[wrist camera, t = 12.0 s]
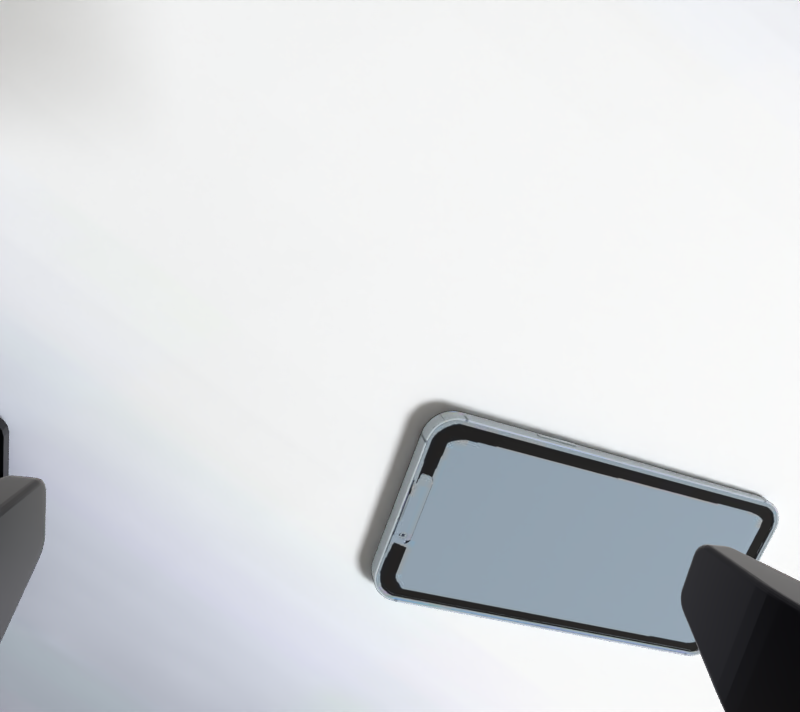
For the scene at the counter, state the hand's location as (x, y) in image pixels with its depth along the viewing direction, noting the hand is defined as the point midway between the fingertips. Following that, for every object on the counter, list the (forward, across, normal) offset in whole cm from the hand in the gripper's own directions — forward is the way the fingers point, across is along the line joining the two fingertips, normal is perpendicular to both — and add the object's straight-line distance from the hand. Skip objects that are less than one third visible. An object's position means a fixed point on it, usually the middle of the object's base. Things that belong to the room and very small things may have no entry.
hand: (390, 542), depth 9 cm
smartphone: (+14, -10, +8) cm, 19 cm away
